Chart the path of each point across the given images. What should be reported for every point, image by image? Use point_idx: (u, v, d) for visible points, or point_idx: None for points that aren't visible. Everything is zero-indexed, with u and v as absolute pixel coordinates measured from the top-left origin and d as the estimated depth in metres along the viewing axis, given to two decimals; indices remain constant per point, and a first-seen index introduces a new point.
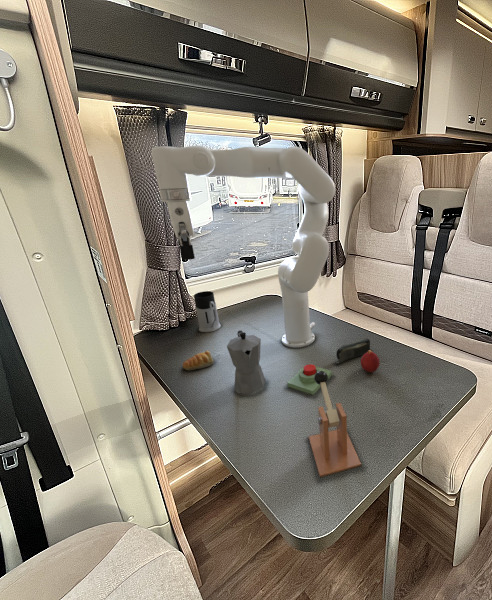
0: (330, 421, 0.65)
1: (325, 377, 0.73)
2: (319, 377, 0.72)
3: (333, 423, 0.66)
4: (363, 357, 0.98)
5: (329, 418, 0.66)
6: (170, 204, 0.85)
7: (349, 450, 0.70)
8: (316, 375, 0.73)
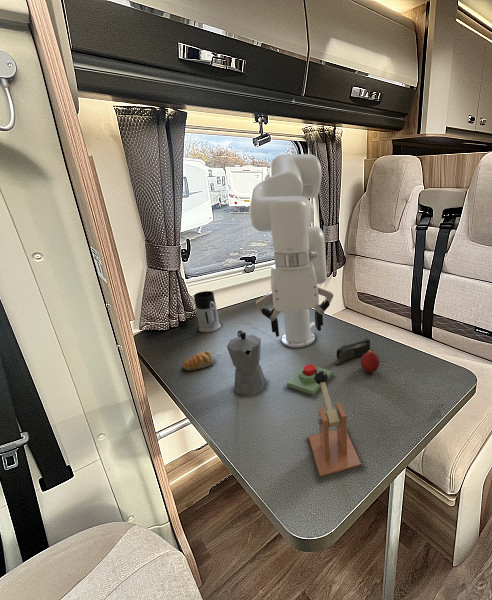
0: (330, 421, 0.65)
1: (325, 377, 0.73)
2: (319, 377, 0.72)
3: (333, 423, 0.66)
4: (363, 357, 0.98)
5: (329, 418, 0.66)
6: (312, 268, 0.67)
7: (349, 450, 0.70)
8: (316, 375, 0.73)
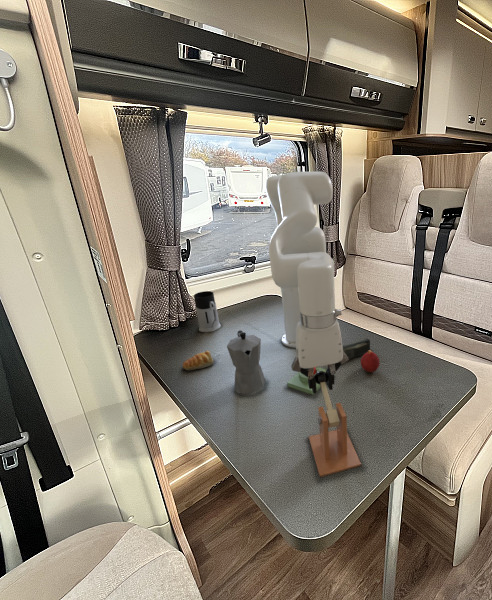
0: (330, 421, 0.65)
1: (325, 377, 0.73)
2: (319, 377, 0.72)
3: (333, 423, 0.66)
4: (363, 357, 0.98)
5: (329, 418, 0.66)
6: (338, 326, 0.68)
7: (349, 450, 0.70)
8: (316, 375, 0.73)
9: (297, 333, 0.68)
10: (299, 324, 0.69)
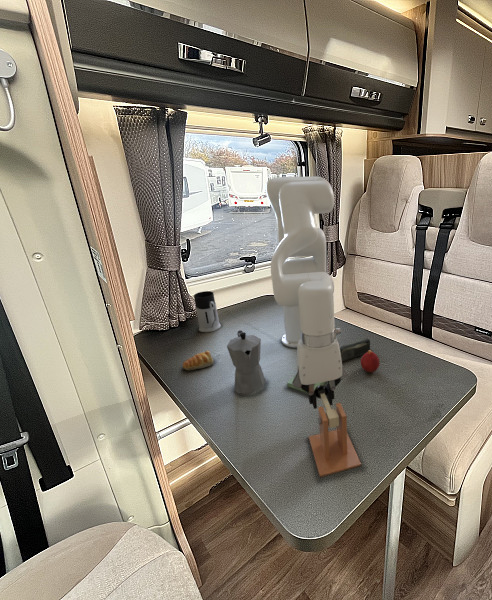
0: (329, 417, 0.66)
1: (324, 388, 0.75)
2: (318, 388, 0.75)
3: (333, 420, 0.66)
4: (363, 357, 0.98)
5: (328, 415, 0.66)
6: (337, 344, 0.71)
7: (349, 450, 0.70)
8: (316, 388, 0.76)
9: (298, 351, 0.71)
10: (300, 342, 0.71)
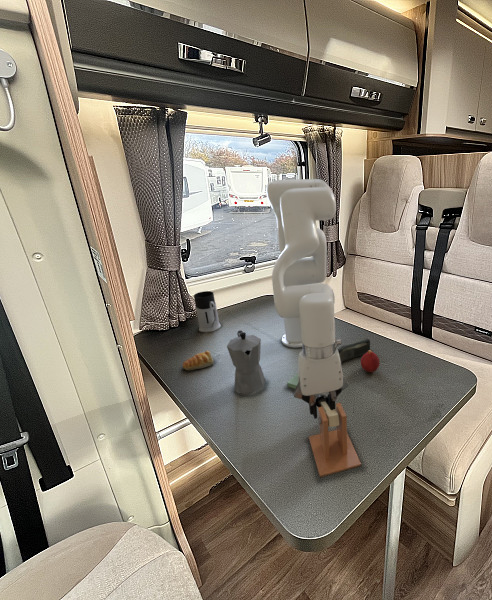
0: (329, 415, 0.66)
1: (325, 397, 0.76)
2: (319, 397, 0.76)
3: (333, 418, 0.66)
4: (363, 357, 0.98)
5: (328, 414, 0.67)
6: (338, 355, 0.72)
7: (349, 450, 0.70)
8: None
9: (299, 362, 0.71)
10: (301, 353, 0.72)
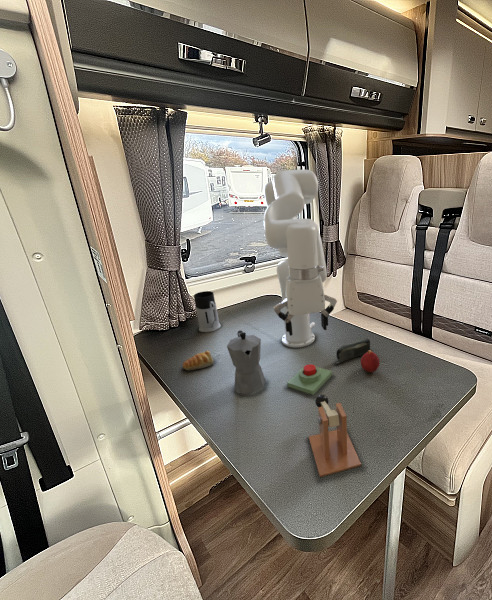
0: (329, 415, 0.66)
1: (325, 397, 0.76)
2: (319, 397, 0.76)
3: (333, 418, 0.66)
4: (363, 357, 0.98)
5: (328, 414, 0.67)
6: (320, 280, 0.82)
7: (349, 450, 0.70)
8: None
9: (286, 285, 0.82)
10: (288, 278, 0.82)
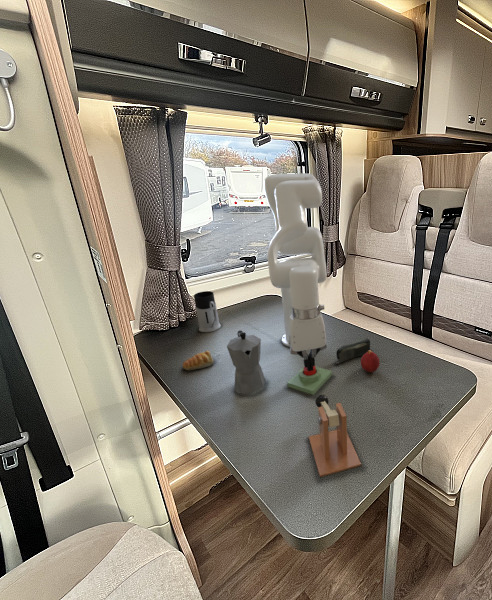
0: (329, 415, 0.66)
1: (325, 397, 0.76)
2: (319, 397, 0.76)
3: (333, 418, 0.66)
4: (363, 357, 0.98)
5: (328, 414, 0.67)
6: (321, 318, 0.87)
7: (349, 450, 0.70)
8: None
9: (289, 323, 0.87)
10: (291, 316, 0.87)
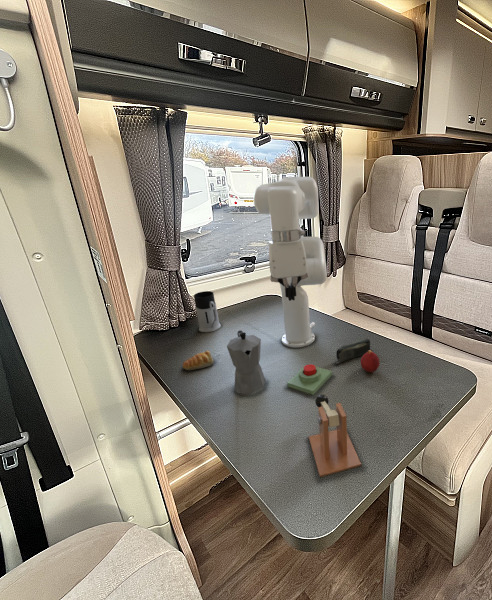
0: (329, 415, 0.66)
1: (325, 397, 0.76)
2: (319, 397, 0.76)
3: (333, 418, 0.66)
4: (363, 357, 0.98)
5: (328, 414, 0.67)
6: (302, 243, 0.86)
7: (349, 450, 0.70)
8: None
9: (269, 248, 0.86)
10: (271, 241, 0.86)
